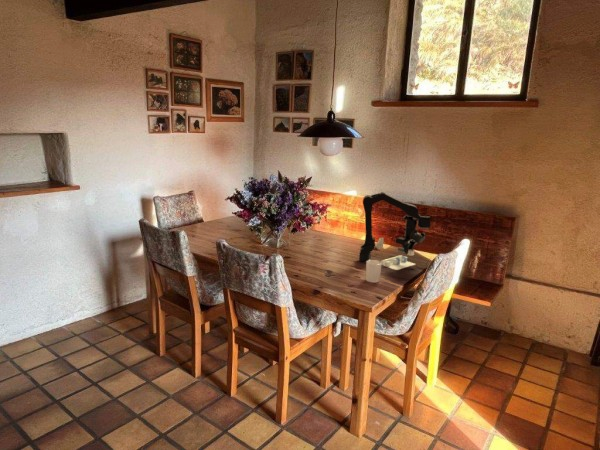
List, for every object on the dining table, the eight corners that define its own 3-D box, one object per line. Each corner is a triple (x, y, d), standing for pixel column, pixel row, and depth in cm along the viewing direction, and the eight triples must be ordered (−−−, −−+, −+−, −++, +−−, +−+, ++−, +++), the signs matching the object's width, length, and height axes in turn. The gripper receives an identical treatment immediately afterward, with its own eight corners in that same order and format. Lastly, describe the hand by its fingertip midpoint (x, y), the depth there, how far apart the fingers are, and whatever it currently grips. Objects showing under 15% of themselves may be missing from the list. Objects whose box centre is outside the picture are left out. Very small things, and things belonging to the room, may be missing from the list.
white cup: (378, 277, 227) (379, 259, 224) (381, 283, 219) (383, 264, 217) (363, 277, 226) (365, 259, 224) (366, 283, 219) (367, 264, 216)
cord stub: (411, 255, 241) (411, 251, 241) (397, 251, 249) (397, 247, 248) (414, 255, 243) (414, 250, 243) (400, 250, 250) (400, 246, 250)
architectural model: (374, 249, 279) (375, 238, 277) (378, 247, 284) (379, 236, 282) (379, 250, 277) (379, 239, 275) (383, 248, 282) (384, 237, 281)
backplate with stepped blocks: (396, 271, 236) (397, 265, 235) (381, 266, 245) (381, 259, 244) (415, 265, 248) (416, 259, 247) (400, 260, 256) (401, 254, 255)
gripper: (412, 232, 229) (409, 260, 233) (432, 228, 241) (429, 254, 244) (396, 228, 237) (393, 255, 241) (416, 224, 249) (413, 249, 253)
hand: (408, 253), depth 245 cm, fingers closed on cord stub, 3 cm apart
